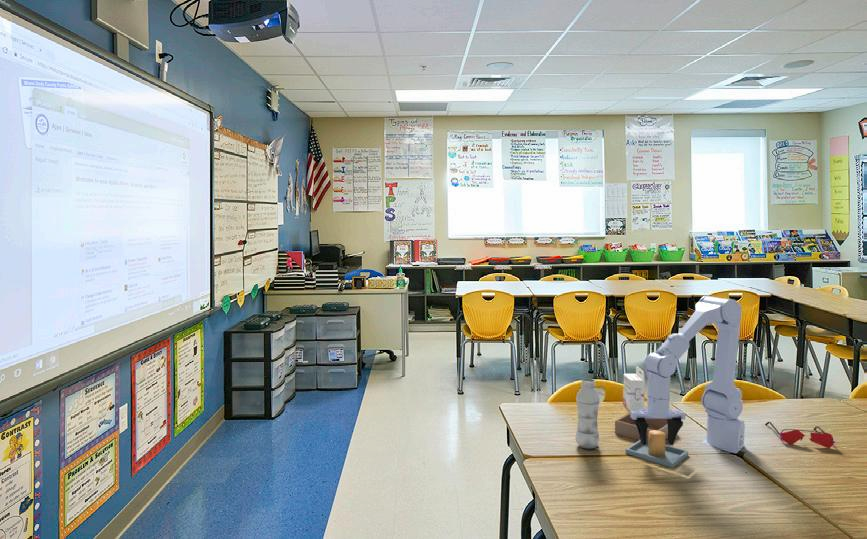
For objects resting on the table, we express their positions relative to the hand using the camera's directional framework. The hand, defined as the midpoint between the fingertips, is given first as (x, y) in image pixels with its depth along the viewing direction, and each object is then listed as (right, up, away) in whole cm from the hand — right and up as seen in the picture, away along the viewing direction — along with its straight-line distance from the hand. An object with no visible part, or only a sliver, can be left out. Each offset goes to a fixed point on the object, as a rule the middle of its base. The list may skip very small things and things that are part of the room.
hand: (656, 443), depth 149 cm
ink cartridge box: (+8, -1, +39) cm, 40 cm away
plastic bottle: (-18, -3, +7) cm, 19 cm away
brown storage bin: (+3, -2, +16) cm, 16 cm away
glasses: (+49, -3, +14) cm, 51 cm away
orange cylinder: (0, -3, 0) cm, 3 cm away
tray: (0, -4, 0) cm, 4 cm away
